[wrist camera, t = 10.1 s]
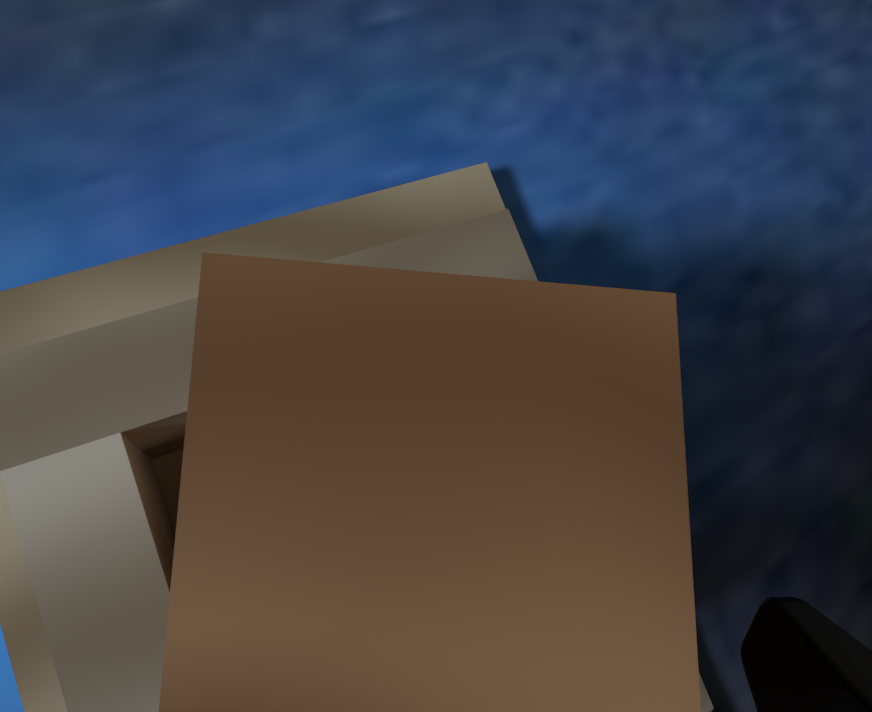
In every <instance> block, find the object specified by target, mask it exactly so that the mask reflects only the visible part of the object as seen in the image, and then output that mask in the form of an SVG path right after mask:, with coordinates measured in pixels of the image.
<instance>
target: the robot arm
mask: <svg viewBox="0 0 872 712" xmlns="http://www.w3.org/2000/svg"><path fill="white" fill-rule="evenodd" d="M741 659H742V664H743V667H744V671H745V674H746V677H747V680H748V683H749V687H750V690H751V693H752V696H753V699H754V703H755V706H756V709H757V712H872V651H871V650H870V649H869V648H867V647H866V646H865V645H863V644H862V643H861V642H859V641H858V640H857V639H855V638H854V637H853V636H851V635H850V634H848V633H847V632H846V631H844V630H843V629H842V628H840V627H839V626H838V625H836V624H835V623H834V622H832V621H831V620H830V619H828V618H827V617H826V616H824V615H823V614H822V613H820V612H819V611H817V610H816V609H815V608H813V607H812V606H811V605H809V604H808V603H807V602H805V601H804V600H802V599H799V598H795V597H770V598H767V599H765V600H764V601H763V602H762V603H761V605H760V606H759V608H758V610H757V612H756V614H755V616H754V619H753V621H752V623H751V625H750V627H749V629H748V631H747V633H746V635H745V637H744V639H743V642H742V646H741Z"/></svg>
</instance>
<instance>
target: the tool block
mask: <svg viewBox="0 0 872 712" xmlns="http://www.w3.org/2000/svg"><path fill="white" fill-rule="evenodd" d="M202 252H205V253H216V254H228V255H239V256H251V257H263V258H274V259H286V260H297V261H309V262H320V263H332V264H343V265H355V266H367V267H378V268H390V269H401V270H413V271H424V272H436V273H448V274H459V275H471V276H482V277H494V278H505V279H517V280H529V281H538V279H537V277H536V275H535V272H534V270H533V267H532V265H531V262H530V260H529V258H528V255H527V253H526V250H525V248H524V245H523V243H522V240H521V238H520V236H519V233H518V231H517V228H516V226H515V223H514V221H513V219H512V216H511V214H510V211H509V209H506V208H505V206H504V203H503V201H502V199H501V196H500V194H499V191H498V189H497V186H496V184H495V181H494V179H493V177H492V174H491V172H490V169H489V167H488V164H487V162H486V163H482V164H478V165H474V166H471V167H467V168H463V169H459V170H456V171H452V172H448V173H444V174H441V175H437V176H433V177H429V178H426V179H422V180H418V181H414V182H411V183H407V184H403V185H399V186H395V187H392V188H388V189H384V190H380V191H377V192H373V193H369V194H365V195H362V196H358V197H354V198H350V199H347V200H343V201H339V202H335V203H332V204H328V205H324V206H320V207H316V208H313V209H309V210H305V211H301V212H298V213H294V214H290V215H286V216H283V217H279V218H275V219H271V220H268V221H264V222H260V223H256V224H253V225H249V226H245V227H241V228H237V229H234V230H230V231H226V232H222V233H219V234H215V235H211V236H207V237H204V238H200V239H196V240H192V241H189V242H185V243H181V244H177V245H174V246H170V247H166V248H162V249H158V250H155V251H151V252H147V253H143V254H140V255H136V256H132V257H128V258H125V259H121V260H117V261H113V262H110V263H106V264H102V265H98V266H95V267H91V268H87V269H83V270H79V271H76V272H72V273H68V274H64V275H61V276H57V277H53V278H49V279H46V280H42V281H38V282H34V283H31V284H27V285H23V286H19V287H16V288H12V289H8V290H4V291H0V624H1V628H2V631H3V635H4V639H5V642H6V646H7V650H8V653H9V657H10V661H11V664H12V668H13V672H14V675H15V679H16V683H17V686H18V690H19V694H20V697H21V701H22V705H23V708H24V712H159V701H160V691H161V680H162V670H163V659H164V649H165V639H166V628H167V618H168V607H169V597H170V586H171V576H172V565H173V555H174V544H175V534H176V523H177V513H178V502H179V492H180V481H181V471H182V460H183V450H184V439H185V429H186V418H187V408H188V397H189V387H190V376H191V366H192V356H193V345H194V335H195V324H196V314H197V303H198V293H199V282H200V272H201V261H202ZM699 685H700V702H701V712H712V710H713V709H714V708H713V705H712V703H711V700H710V698H709V695H708V693H707V690H706V688H705V686H704V683H703V681H702V678H701V676H700V673H699Z"/></svg>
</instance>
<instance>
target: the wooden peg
mask: <svg viewBox="0 0 872 712" xmlns="http://www.w3.org/2000/svg"><path fill="white" fill-rule="evenodd" d="M159 712H701V702H700V685H699V669H698V652H697V636H696V619H695V603H694V586H693V570H692V553H691V536H690V520H689V503H688V487H687V470H686V454H685V437H684V421H683V404H682V388H681V371H680V355H679V338H678V322H677V305H676V293H667V292H656V291H644V290H633V289H621V288H609V287H598V286H586V285H575V284H563V283H552V282H540V281H529V280H517V279H505V278H494V277H482V276H471V275H459V274H448V273H436V272H424V271H413V270H401V269H390V268H378V267H367V266H355V265H343V264H332V263H320V262H309V261H297V260H286V259H274V258H263V257H251V256H239V255H228V254H216V253H205V252H202V261H201V272H200V282H199V293H198V303H197V314H196V324H195V335H194V345H193V356H192V366H191V376H190V387H189V397H188V408H187V418H186V429H185V439H184V450H183V460H182V471H181V481H180V492H179V502H178V513H177V523H176V534H175V544H174V555H173V565H172V576H171V586H170V597H169V607H168V618H167V628H166V639H165V649H164V659H163V670H162V680H161V691H160V701H159Z"/></svg>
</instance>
